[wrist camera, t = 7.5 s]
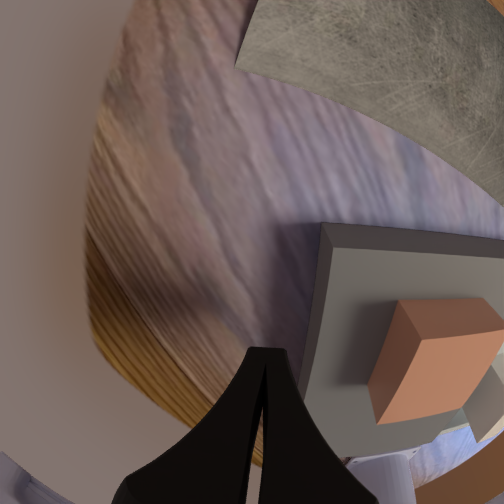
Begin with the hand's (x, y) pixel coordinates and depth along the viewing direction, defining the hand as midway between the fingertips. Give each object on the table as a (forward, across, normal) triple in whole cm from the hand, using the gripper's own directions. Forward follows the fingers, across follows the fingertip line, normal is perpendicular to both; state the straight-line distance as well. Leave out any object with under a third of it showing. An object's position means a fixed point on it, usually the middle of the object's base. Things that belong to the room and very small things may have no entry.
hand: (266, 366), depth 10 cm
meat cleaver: (+5, -16, -10) cm, 19 cm away
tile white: (+1, -17, +7) cm, 18 cm away
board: (+4, -8, +4) cm, 10 cm away
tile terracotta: (+1, -8, 0) cm, 8 cm away
